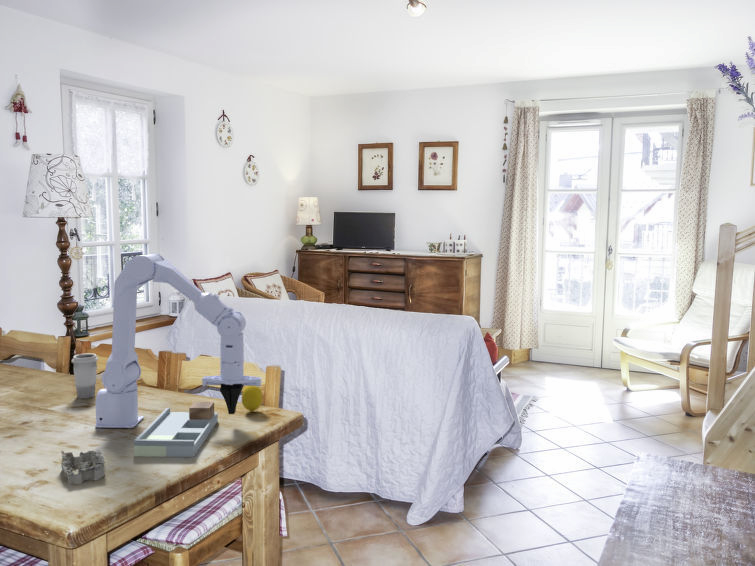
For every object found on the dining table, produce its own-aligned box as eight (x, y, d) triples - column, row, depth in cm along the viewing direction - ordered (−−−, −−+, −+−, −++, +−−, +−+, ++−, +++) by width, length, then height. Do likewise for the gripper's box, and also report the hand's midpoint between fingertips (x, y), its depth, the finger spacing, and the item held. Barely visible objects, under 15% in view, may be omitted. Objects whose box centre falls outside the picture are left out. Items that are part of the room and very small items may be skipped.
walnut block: (189, 419, 150) (189, 407, 150) (194, 412, 155) (194, 401, 155) (209, 419, 150) (209, 408, 150) (214, 413, 155) (214, 401, 155)
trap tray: (134, 456, 133) (133, 440, 132) (167, 420, 155) (166, 407, 155) (193, 456, 133) (193, 441, 133) (217, 421, 156) (217, 408, 155)
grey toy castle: (60, 468, 126) (59, 449, 126) (99, 461, 130) (98, 443, 130) (66, 488, 117) (65, 467, 117) (107, 479, 121) (107, 460, 121)
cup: (91, 391, 179) (90, 351, 178) (104, 395, 175) (103, 355, 174) (67, 396, 173) (66, 356, 172) (80, 401, 169) (78, 359, 168)
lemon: (257, 416, 161) (257, 387, 160) (238, 414, 162) (238, 385, 161) (265, 409, 166) (265, 381, 165) (246, 408, 167) (246, 380, 166)
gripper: (198, 364, 147) (199, 417, 148) (258, 365, 147) (258, 418, 149) (206, 357, 154) (206, 408, 155) (262, 358, 154) (262, 409, 156)
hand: (232, 412), depth 153 cm, fingers closed
